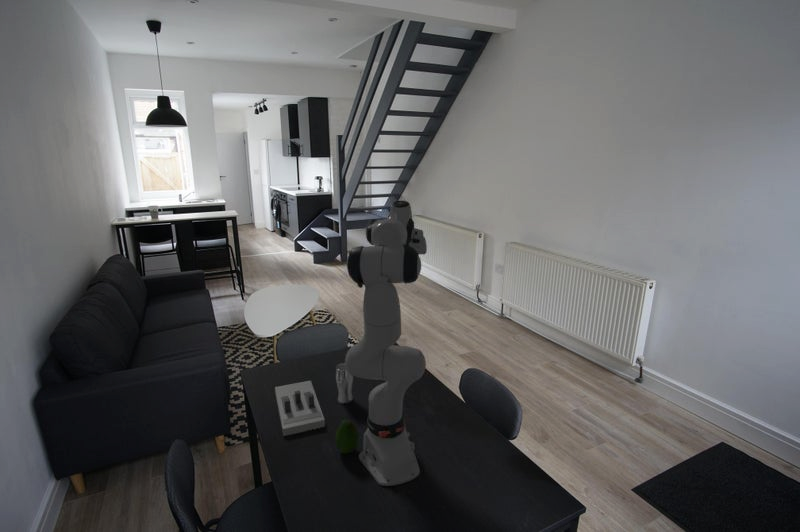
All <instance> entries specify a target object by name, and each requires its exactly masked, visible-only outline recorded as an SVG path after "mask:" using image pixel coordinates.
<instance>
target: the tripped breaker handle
mask: <svg viewBox="0 0 800 532" xmlns="http://www.w3.org/2000/svg"><path fill="white" fill-rule="evenodd" d="M295 402H296V403H299V402H301V394H300V390H299V391H295Z"/></svg>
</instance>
